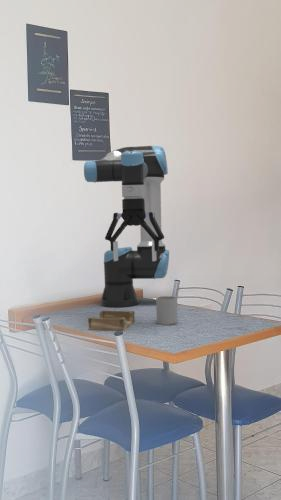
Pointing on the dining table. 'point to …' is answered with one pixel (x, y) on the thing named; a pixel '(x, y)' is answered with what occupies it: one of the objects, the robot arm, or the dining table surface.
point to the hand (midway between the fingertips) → (135, 260)
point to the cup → (166, 310)
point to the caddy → (112, 320)
